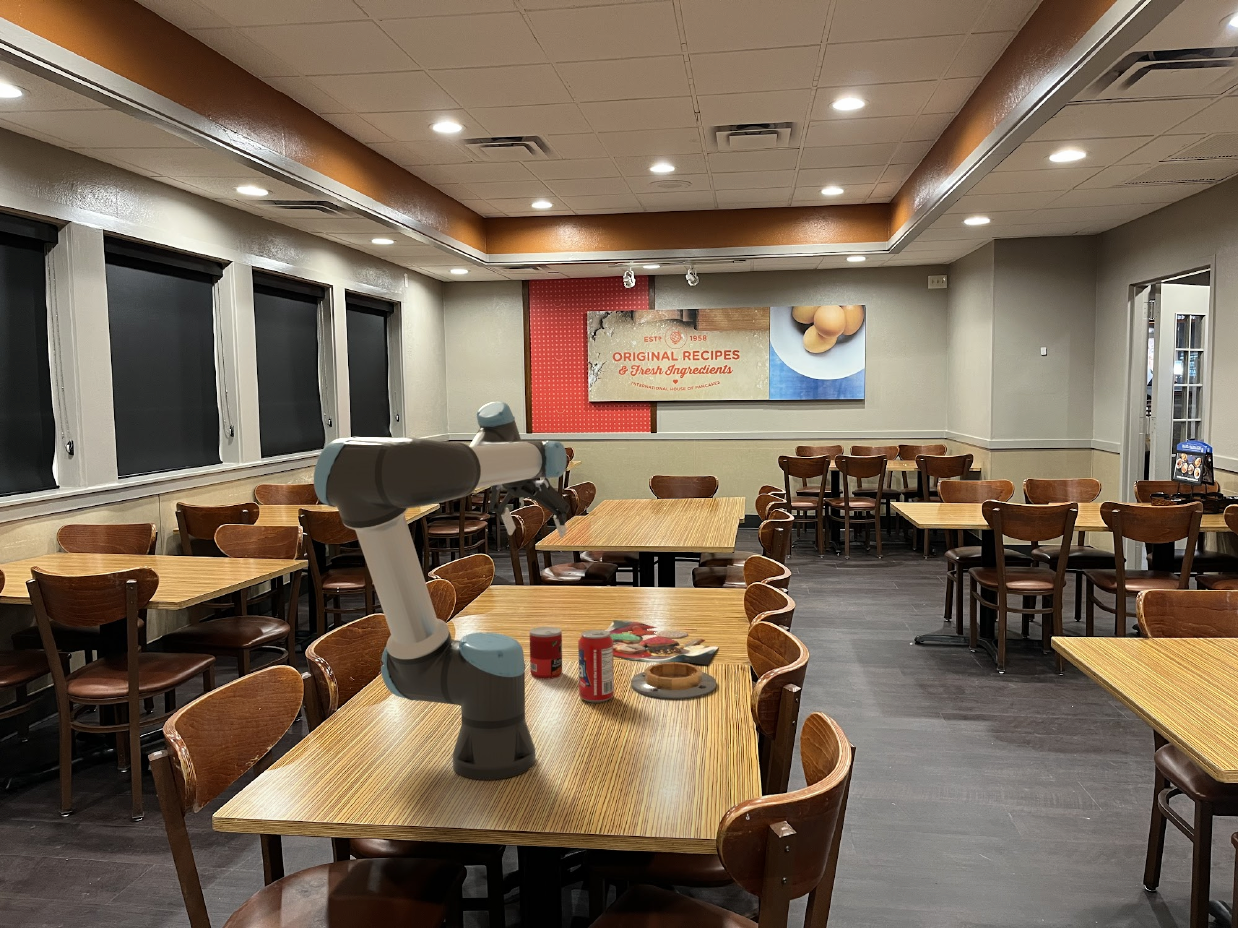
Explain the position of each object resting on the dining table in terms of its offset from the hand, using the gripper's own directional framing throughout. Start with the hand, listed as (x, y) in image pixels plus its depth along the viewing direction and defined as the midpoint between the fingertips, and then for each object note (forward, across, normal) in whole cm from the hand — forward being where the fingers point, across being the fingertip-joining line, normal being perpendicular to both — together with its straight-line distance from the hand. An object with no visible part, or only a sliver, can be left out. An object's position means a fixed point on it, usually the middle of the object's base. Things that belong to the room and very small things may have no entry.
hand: (537, 532), depth 206 cm
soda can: (+24, -18, +28) cm, 41 cm away
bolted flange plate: (+32, -32, +16) cm, 48 cm away
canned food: (+32, 0, +18) cm, 36 cm away
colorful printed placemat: (+52, -17, -10) cm, 56 cm away
